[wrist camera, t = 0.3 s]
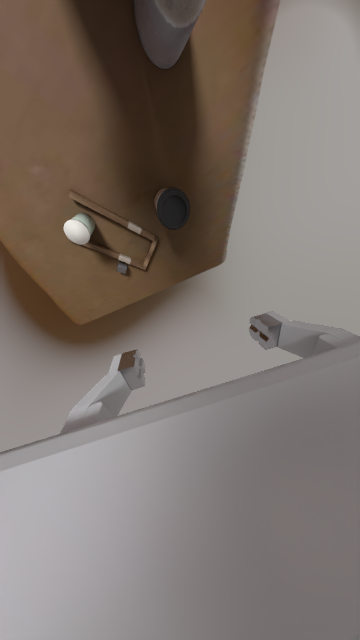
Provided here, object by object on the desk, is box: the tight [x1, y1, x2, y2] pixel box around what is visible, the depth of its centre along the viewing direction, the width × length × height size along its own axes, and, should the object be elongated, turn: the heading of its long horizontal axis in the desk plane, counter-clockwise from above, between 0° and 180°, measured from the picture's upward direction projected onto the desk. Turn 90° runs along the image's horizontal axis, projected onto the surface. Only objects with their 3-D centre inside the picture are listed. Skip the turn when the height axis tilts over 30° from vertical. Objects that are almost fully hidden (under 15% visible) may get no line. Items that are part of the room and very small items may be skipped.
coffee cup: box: [155, 188, 190, 230], centre depth 39 cm, size 8×8×15 cm
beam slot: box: [66, 190, 158, 274], centre depth 48 cm, size 16×25×3 cm, turn 60°
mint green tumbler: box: [64, 212, 95, 244], centre depth 40 cm, size 5×5×11 cm
